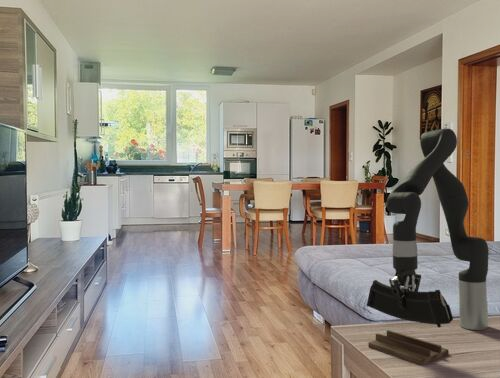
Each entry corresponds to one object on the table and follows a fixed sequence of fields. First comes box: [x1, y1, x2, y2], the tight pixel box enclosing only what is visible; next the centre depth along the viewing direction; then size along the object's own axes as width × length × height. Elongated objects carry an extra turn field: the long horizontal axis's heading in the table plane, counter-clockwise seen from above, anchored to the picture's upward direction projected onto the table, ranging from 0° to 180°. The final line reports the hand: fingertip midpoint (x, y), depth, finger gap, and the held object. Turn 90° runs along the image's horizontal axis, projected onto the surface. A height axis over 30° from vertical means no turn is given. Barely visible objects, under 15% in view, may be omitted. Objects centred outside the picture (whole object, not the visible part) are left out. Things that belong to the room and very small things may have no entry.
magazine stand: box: [367, 329, 449, 366], centre depth 148 cm, size 14×20×4 cm
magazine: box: [366, 279, 454, 328], centre depth 149 cm, size 17×3×30 cm
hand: (406, 307), depth 148 cm, fingers closed on magazine, 3 cm apart
